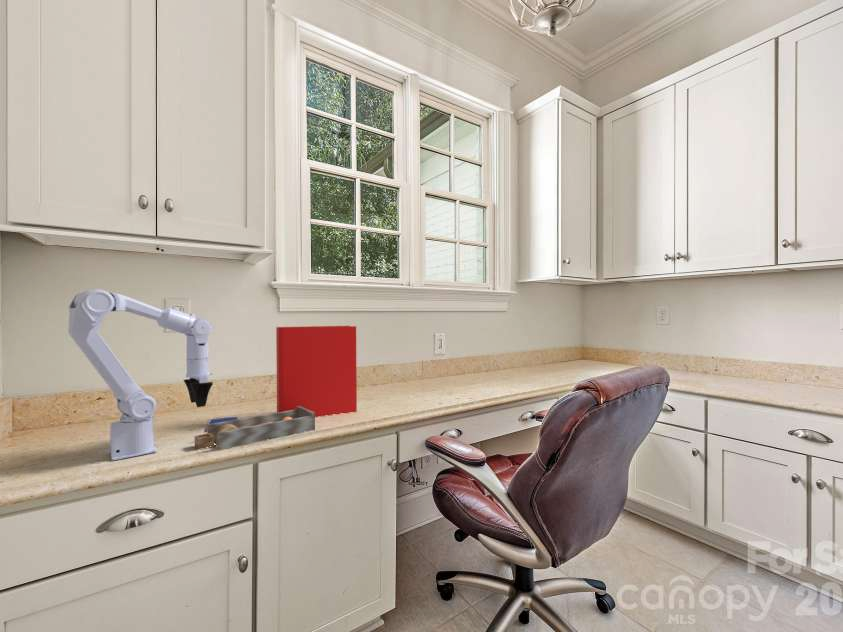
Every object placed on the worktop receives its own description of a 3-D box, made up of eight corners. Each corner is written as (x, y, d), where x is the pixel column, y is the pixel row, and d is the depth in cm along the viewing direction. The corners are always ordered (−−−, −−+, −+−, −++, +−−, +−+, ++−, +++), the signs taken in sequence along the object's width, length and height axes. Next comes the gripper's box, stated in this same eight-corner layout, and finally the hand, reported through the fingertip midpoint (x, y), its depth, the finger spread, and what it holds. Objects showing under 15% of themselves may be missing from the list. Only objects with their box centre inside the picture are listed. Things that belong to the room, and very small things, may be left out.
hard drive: (210, 419, 133) (206, 429, 122) (237, 416, 136) (235, 426, 125) (210, 423, 133) (206, 434, 122) (237, 421, 136) (235, 430, 125)
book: (350, 407, 153) (349, 325, 153) (356, 411, 146) (356, 326, 146) (276, 416, 141) (275, 327, 140) (279, 421, 133) (278, 327, 133)
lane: (218, 465, 105) (217, 429, 105) (207, 453, 114) (207, 421, 114) (315, 442, 124) (314, 412, 124) (299, 434, 132) (299, 405, 132)
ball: (289, 415, 122) (298, 422, 124) (284, 413, 125) (293, 420, 127) (281, 426, 120) (290, 433, 122) (276, 424, 123) (285, 430, 125)
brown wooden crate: (197, 450, 106) (197, 439, 106) (194, 446, 109) (194, 435, 109) (214, 446, 108) (214, 436, 108) (210, 443, 111) (210, 432, 111)
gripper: (219, 359, 113) (219, 406, 113) (206, 355, 124) (207, 398, 124) (191, 361, 109) (191, 410, 109) (181, 357, 120) (181, 401, 120)
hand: (198, 404), depth 116 cm, fingers open, 7 cm apart
